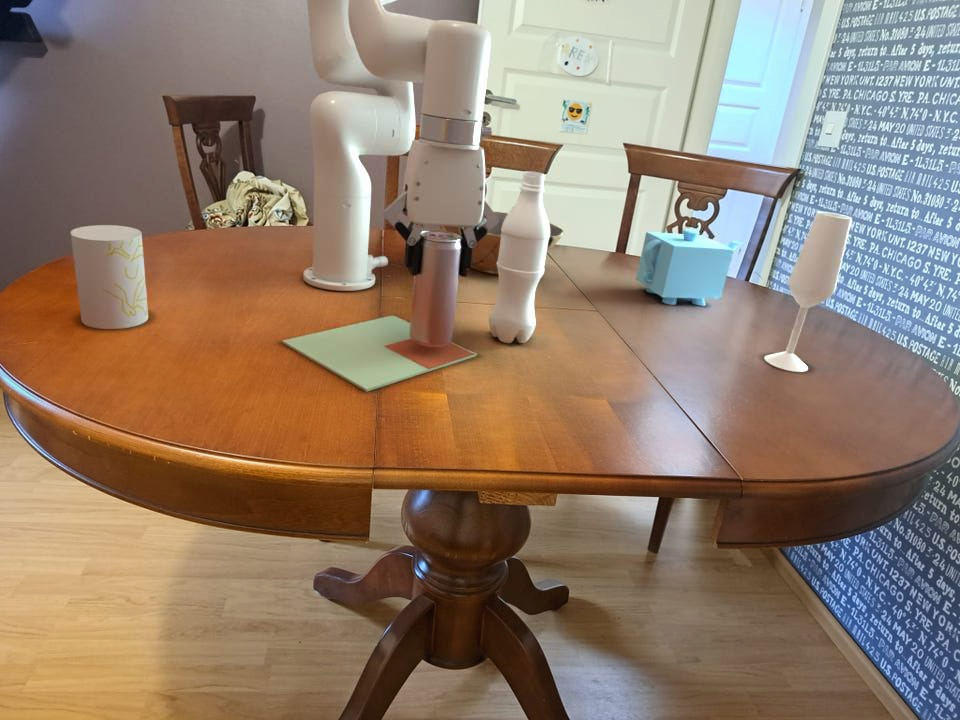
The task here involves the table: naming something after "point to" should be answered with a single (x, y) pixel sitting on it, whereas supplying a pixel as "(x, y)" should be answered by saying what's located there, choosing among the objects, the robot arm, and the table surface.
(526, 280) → the water bottle
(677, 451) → the table surface
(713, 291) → the teapot
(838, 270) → the champagne flute
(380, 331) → the placemat
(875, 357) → the table surface
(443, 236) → the beverage can
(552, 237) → the bowl
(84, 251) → the cup
